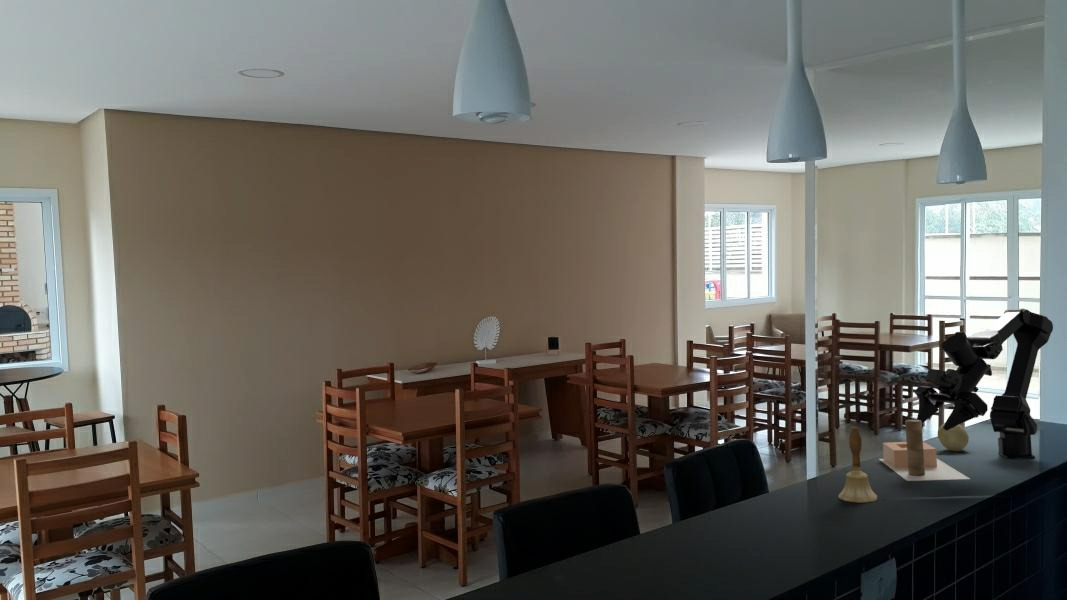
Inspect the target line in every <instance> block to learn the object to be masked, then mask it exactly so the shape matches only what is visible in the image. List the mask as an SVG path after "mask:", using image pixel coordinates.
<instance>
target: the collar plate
mask: <svg viewBox="0 0 1067 600" xmlns="http://www.w3.org/2000/svg"><path fill="white" fill-rule="evenodd" d="M882 450H883V451H882V453H883V458H878V460H879V461H881V462H882V463H883V464H884V465H886V466H887V467H888V468H890V469H891V470H892V471H893V472H895V473H896V474H898V475H899V476H900V477H902V478H903V480H905V481H906V482H917V481H918V482H919V481H921V482H922V481H947V480H949V481H952V480H971V478H970V477H968V476H966V475H965V474H964V473H961V472H960V471H958V470H956V469H955V468H954V467H952V466H950V465H949V464H947V463H945V462H943V461H942V460H940V459H939V458H938V457H937V449H936V448H935V447H934V446H932V445H930V444H928V443H927V442H925V441H923V452H924V468H925V475H923V476H912V475H909V473H908V457H907V442H906V441H897V442H896V441H893V442H889V441H888V442H882Z"/></svg>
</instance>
